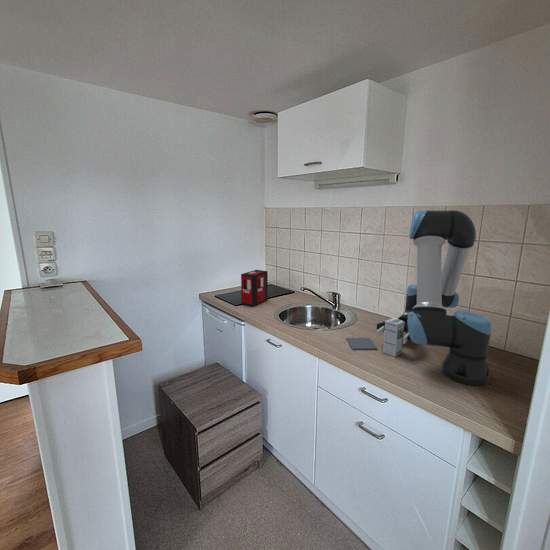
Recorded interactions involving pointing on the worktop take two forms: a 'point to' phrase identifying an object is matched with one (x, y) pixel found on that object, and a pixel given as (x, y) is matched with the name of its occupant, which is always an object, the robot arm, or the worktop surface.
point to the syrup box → (393, 336)
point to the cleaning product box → (254, 287)
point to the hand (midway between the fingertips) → (390, 337)
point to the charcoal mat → (361, 344)
